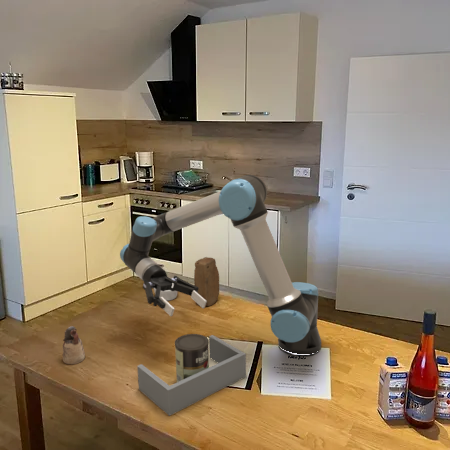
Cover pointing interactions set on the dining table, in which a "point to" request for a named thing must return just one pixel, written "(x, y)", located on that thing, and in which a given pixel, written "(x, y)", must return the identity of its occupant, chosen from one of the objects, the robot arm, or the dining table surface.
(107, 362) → the dining table surface
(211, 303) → the block
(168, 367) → the dining table surface
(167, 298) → the ramekin
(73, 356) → the figurine
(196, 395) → the grey u-shaped bracket
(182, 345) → the coffee can
